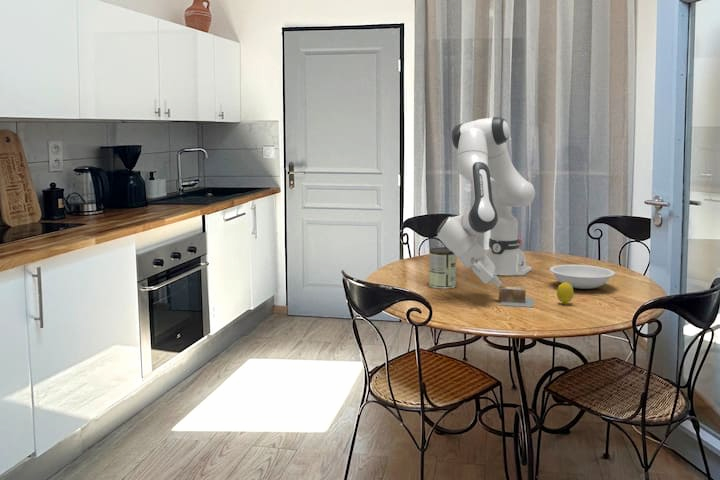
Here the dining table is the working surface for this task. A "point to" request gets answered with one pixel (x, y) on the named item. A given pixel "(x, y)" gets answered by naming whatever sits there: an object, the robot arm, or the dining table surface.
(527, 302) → the grey mat
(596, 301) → the dining table surface
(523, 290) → the walnut block
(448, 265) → the coffee can
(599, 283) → the soup bowl
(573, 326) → the dining table surface
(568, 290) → the lemon
